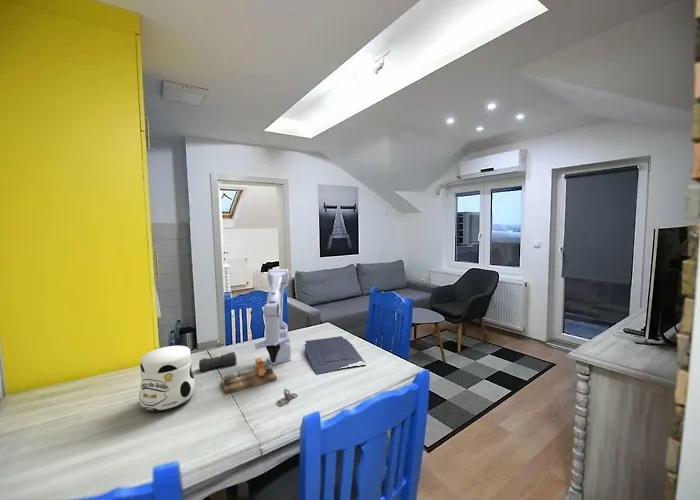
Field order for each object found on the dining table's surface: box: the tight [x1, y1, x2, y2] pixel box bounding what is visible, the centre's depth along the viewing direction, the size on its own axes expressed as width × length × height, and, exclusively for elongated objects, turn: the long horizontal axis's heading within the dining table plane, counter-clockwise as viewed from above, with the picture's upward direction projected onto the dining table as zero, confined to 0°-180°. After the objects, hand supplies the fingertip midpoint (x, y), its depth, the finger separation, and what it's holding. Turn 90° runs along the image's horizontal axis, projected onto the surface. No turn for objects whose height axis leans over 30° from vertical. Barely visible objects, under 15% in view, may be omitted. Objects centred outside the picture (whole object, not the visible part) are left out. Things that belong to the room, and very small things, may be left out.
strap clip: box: [275, 388, 298, 407], centre depth 110 cm, size 8×3×4 cm, turn 144°
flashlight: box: [198, 351, 238, 372], centre depth 136 cm, size 15×5×5 cm, turn 122°
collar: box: [255, 357, 265, 377], centre depth 125 cm, size 2×6×5 cm, turn 32°
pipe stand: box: [220, 363, 278, 395], centre depth 123 cm, size 20×10×5 cm, turn 123°
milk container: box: [138, 345, 196, 413], centre depth 108 cm, size 17×17×18 cm
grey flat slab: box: [303, 335, 364, 375], centre depth 147 cm, size 24×30×4 cm
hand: (273, 361), depth 128 cm, fingers closed
